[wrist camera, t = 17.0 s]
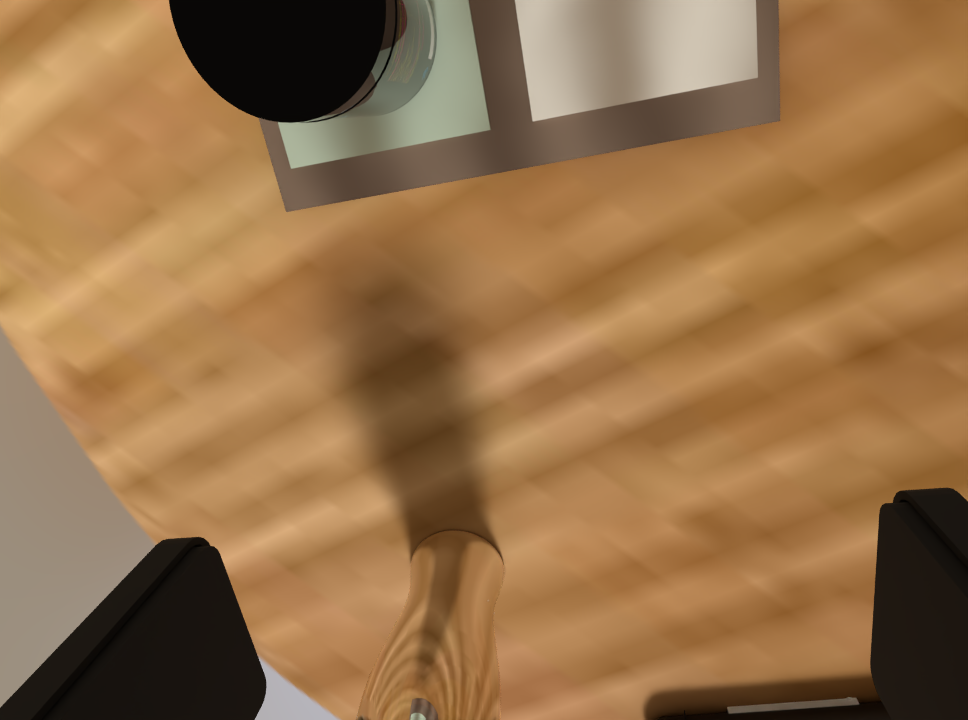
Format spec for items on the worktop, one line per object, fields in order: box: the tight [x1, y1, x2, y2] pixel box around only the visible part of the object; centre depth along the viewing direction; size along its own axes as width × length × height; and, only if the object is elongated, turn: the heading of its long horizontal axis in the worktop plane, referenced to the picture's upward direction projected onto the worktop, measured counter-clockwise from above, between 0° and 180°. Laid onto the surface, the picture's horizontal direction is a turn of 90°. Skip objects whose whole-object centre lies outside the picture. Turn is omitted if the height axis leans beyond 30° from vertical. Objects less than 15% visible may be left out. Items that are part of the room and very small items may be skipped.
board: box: [259, 0, 780, 212], centre depth 28 cm, size 24×14×1 cm, turn 101°
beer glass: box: [356, 530, 504, 720], centre depth 34 cm, size 7×7×15 cm
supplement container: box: [169, 0, 437, 123], centre depth 24 cm, size 7×7×10 cm
